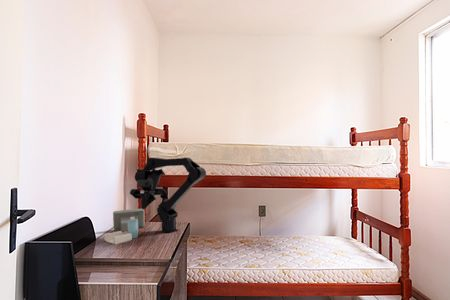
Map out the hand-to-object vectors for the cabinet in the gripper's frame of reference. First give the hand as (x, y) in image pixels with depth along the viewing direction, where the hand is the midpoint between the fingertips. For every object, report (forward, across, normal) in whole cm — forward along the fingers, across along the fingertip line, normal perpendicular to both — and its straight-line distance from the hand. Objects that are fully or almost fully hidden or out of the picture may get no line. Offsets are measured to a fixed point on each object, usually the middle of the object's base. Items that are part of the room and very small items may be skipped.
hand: (142, 209), depth 147 cm
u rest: (+16, -7, 0) cm, 18 cm away
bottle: (+12, -4, +6) cm, 14 cm away
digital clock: (+4, -18, +17) cm, 25 cm away
